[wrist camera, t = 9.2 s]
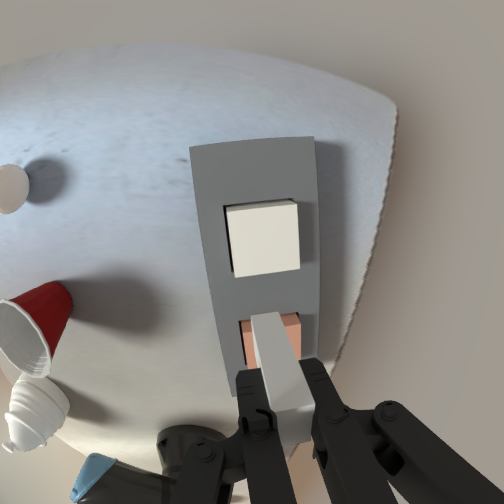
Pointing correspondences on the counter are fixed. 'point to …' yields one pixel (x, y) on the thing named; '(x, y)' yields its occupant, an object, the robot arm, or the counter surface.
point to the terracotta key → (291, 328)
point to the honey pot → (34, 413)
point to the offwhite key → (263, 236)
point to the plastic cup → (34, 327)
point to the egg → (12, 188)
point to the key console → (219, 247)
